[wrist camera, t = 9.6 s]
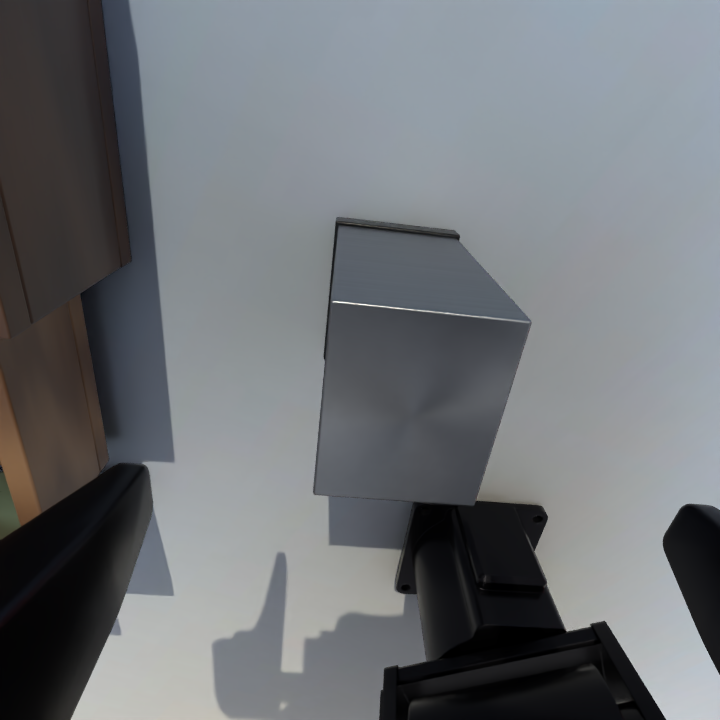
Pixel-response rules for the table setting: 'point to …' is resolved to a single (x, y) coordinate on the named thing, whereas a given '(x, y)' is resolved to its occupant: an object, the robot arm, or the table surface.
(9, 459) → the drawer
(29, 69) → the cabinet
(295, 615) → the table surface
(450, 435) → the brushed steel box
